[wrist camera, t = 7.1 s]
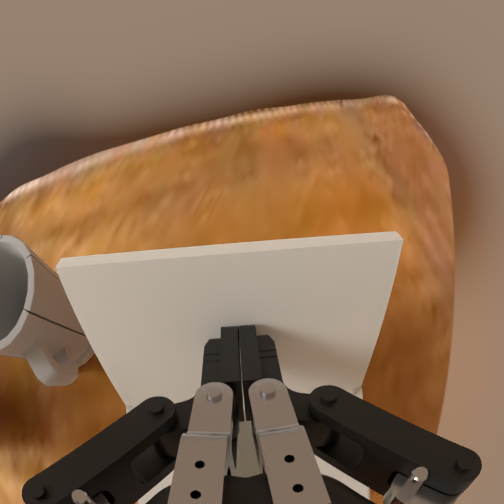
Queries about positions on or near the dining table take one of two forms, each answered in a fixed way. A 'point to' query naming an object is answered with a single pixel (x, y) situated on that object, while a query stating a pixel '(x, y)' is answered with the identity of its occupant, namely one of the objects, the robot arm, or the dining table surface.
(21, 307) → the cup
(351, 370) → the flap
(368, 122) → the dining table surface
